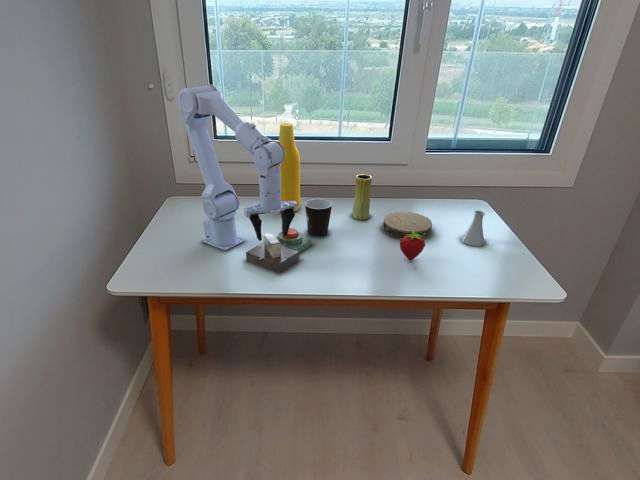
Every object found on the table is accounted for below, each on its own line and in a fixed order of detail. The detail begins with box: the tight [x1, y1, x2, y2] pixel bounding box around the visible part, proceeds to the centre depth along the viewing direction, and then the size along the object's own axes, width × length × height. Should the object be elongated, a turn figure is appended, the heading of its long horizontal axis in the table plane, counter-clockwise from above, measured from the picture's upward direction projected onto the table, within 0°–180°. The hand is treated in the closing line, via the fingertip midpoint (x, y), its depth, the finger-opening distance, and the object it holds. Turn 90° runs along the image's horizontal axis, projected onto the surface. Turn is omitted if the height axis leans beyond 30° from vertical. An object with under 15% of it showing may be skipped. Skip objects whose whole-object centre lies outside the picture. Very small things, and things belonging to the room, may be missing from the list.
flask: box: [461, 210, 486, 247], centre depth 142 cm, size 7×7×10 cm
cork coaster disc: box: [382, 211, 433, 240], centre depth 150 cm, size 16×16×3 cm
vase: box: [351, 173, 373, 220], centre depth 155 cm, size 6×6×14 cm
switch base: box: [245, 241, 300, 275], centre depth 130 cm, size 12×12×3 cm
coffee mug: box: [304, 198, 333, 238], centre depth 146 cm, size 12×9×10 cm
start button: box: [283, 227, 298, 239], centre depth 137 cm, size 4×4×2 cm
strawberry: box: [399, 229, 426, 262], centre depth 131 cm, size 6×8×10 cm
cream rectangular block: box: [263, 232, 281, 258], centre depth 128 cm, size 8×2×4 cm, turn 26°
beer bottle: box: [278, 122, 301, 213], centre depth 156 cm, size 9×9×29 cm
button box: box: [274, 230, 312, 253], centre depth 138 cm, size 10×8×4 cm
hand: (272, 236), depth 126 cm, fingers open, 7 cm apart
